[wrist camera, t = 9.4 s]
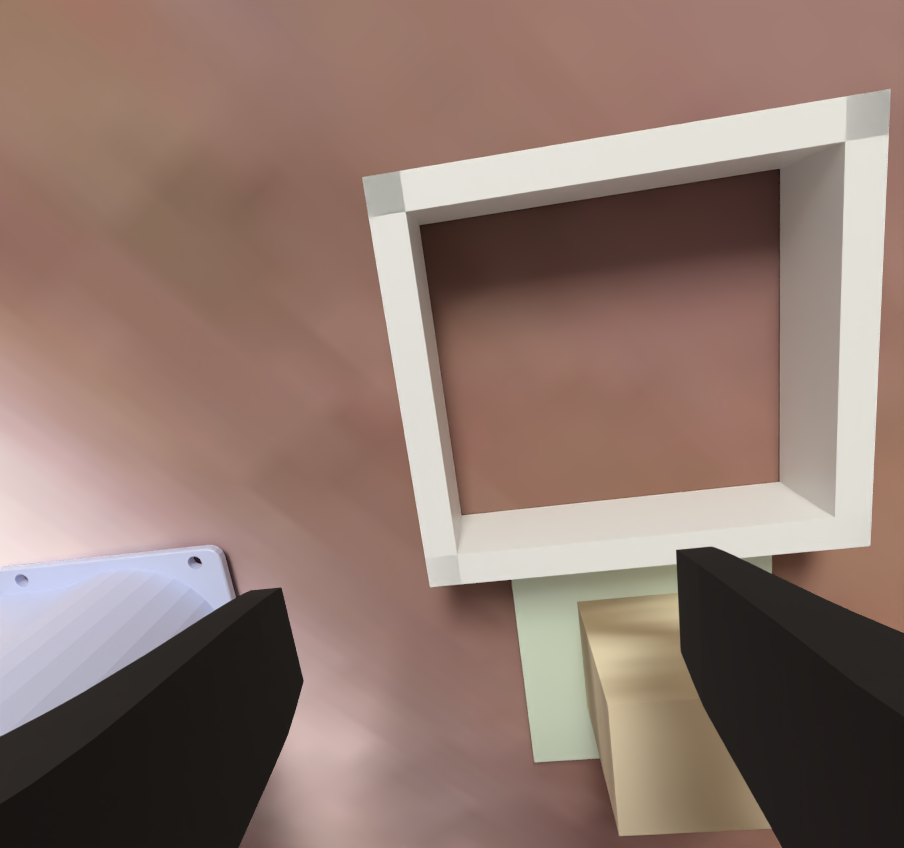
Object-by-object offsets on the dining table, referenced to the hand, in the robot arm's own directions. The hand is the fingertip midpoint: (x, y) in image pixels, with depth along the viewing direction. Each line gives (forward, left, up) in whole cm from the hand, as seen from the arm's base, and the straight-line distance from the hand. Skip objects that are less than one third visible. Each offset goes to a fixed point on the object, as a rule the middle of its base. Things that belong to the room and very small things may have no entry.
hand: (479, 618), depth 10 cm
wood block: (+5, -8, -9) cm, 13 cm away
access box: (+5, +3, -9) cm, 11 cm away
